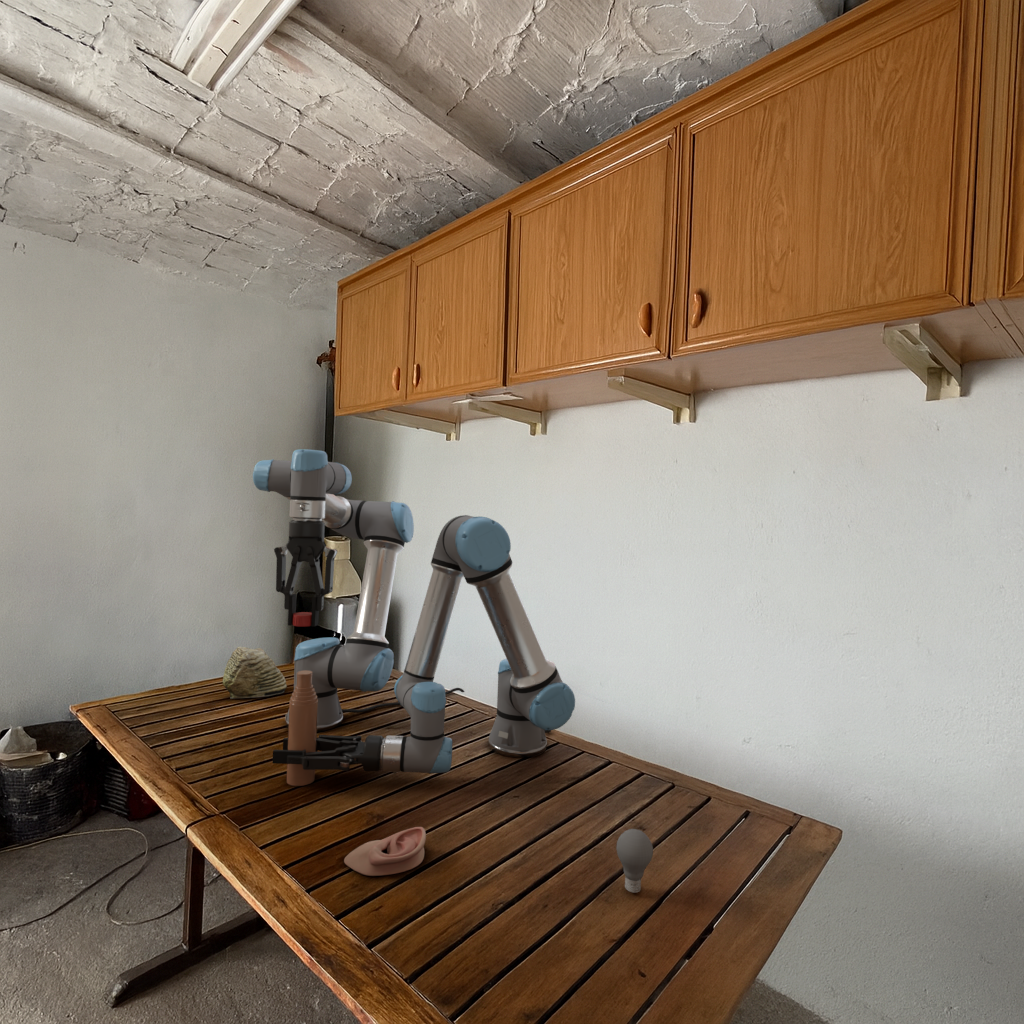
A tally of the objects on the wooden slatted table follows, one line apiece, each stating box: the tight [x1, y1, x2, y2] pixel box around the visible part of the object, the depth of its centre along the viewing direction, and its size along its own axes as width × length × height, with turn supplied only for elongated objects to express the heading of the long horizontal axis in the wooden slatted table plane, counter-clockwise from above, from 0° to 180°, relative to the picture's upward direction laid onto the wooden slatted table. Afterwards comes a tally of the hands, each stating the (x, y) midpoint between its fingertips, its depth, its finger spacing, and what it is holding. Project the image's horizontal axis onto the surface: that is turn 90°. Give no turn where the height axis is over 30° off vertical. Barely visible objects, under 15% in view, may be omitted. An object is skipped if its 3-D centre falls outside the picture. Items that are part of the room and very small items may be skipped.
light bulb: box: [615, 828, 654, 894], centre depth 106 cm, size 6×6×10 cm
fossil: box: [222, 646, 288, 699], centre depth 198 cm, size 9×18×15 cm, turn 132°
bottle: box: [286, 670, 318, 787], centre depth 141 cm, size 6×6×24 cm
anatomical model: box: [343, 826, 427, 877], centre depth 112 cm, size 13×4×12 cm
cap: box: [292, 611, 312, 628], centre depth 140 cm, size 5×5×2 cm
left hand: (303, 624), depth 140 cm, fingers closed on cap, 4 cm apart
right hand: (278, 750), depth 141 cm, fingers closed on bottle, 6 cm apart
